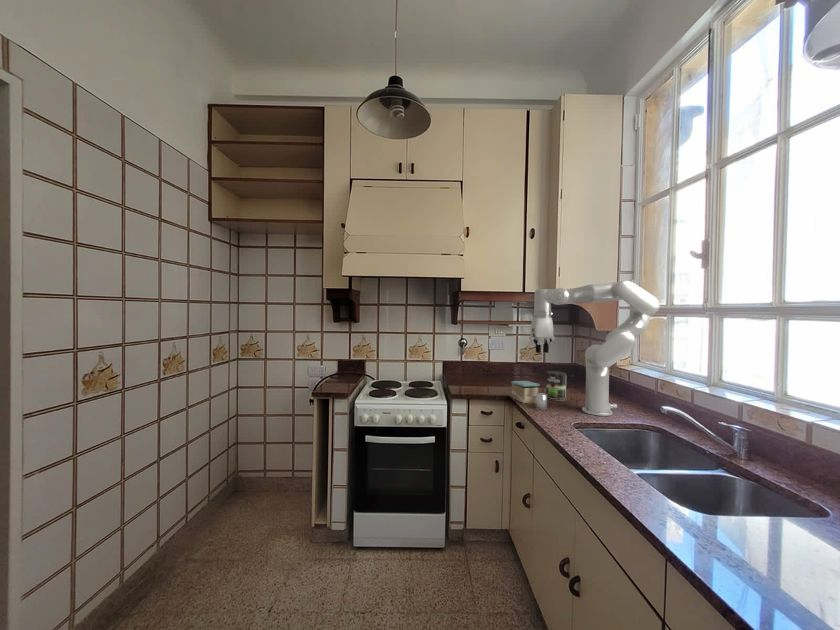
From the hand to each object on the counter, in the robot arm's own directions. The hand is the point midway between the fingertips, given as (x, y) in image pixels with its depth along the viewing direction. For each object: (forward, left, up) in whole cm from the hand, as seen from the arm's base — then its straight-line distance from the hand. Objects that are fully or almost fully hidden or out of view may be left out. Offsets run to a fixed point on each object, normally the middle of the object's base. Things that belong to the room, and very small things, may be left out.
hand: (542, 352), depth 165 cm
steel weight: (0, 0, -27) cm, 27 cm away
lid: (0, -15, -19) cm, 24 cm away
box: (0, -15, -27) cm, 31 cm away
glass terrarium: (-20, -17, -27) cm, 38 cm away
